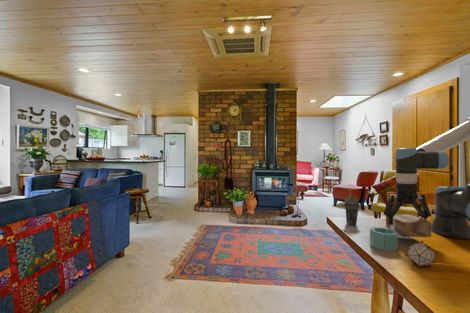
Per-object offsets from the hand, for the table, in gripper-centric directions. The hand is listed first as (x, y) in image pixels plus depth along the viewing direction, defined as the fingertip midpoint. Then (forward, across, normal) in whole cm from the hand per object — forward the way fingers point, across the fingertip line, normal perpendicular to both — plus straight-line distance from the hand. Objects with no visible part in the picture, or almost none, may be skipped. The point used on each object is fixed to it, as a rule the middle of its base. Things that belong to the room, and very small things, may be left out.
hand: (407, 232), depth 103 cm
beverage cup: (+4, +16, -21) cm, 27 cm away
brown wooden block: (0, 0, 0) cm, 0 cm away
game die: (+4, +10, +24) cm, 26 cm away
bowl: (+4, +14, +9) cm, 17 cm away
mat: (+4, +1, 0) cm, 4 cm away
